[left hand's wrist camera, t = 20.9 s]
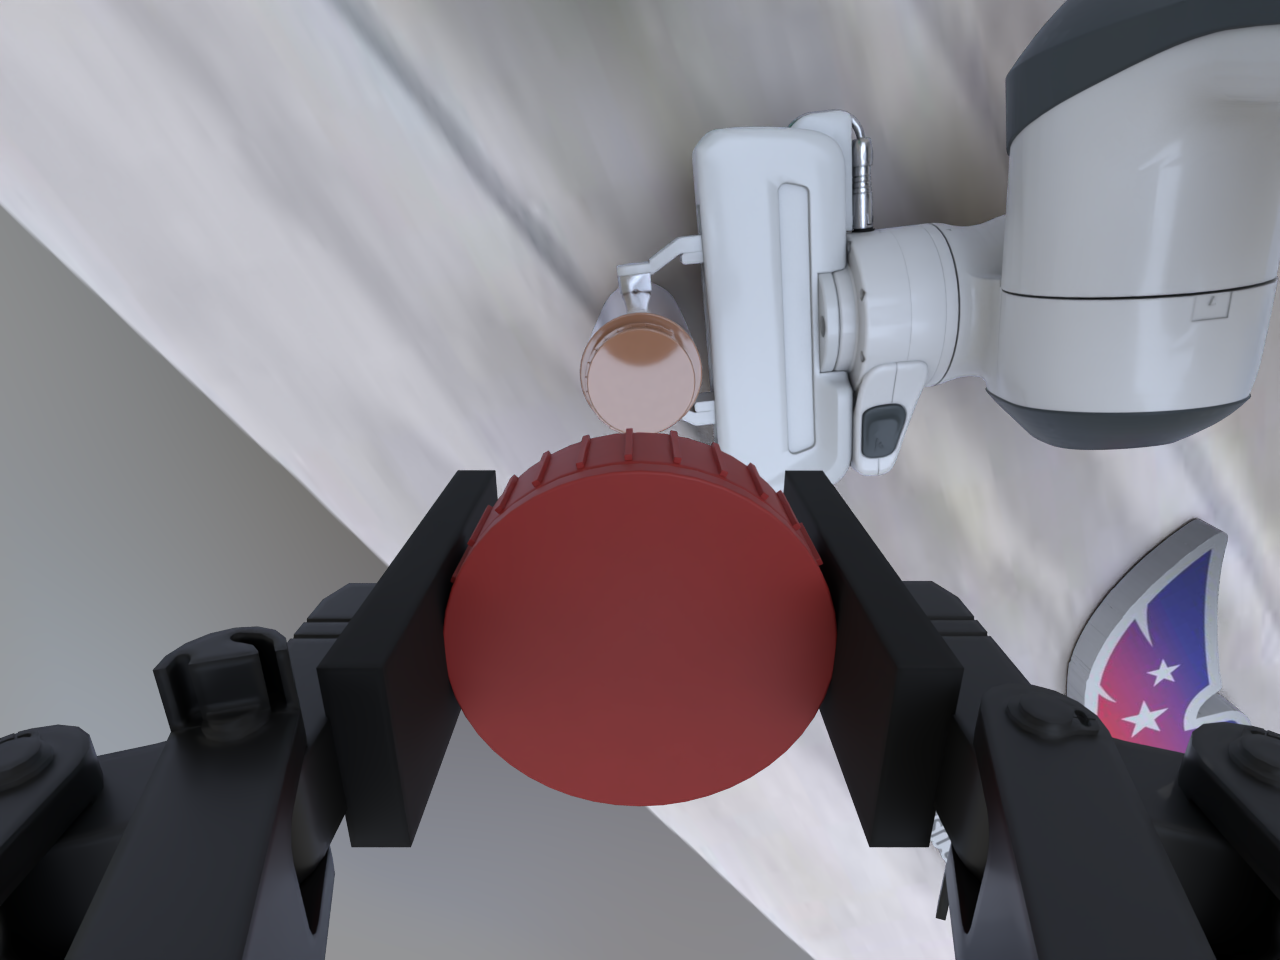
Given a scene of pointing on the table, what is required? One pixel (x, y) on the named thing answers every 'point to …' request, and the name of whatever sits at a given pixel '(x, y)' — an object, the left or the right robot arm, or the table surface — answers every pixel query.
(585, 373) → the jar
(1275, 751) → the left robot arm
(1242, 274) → the right robot arm
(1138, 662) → the decorative sign
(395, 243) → the table surface
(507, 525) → the lid
